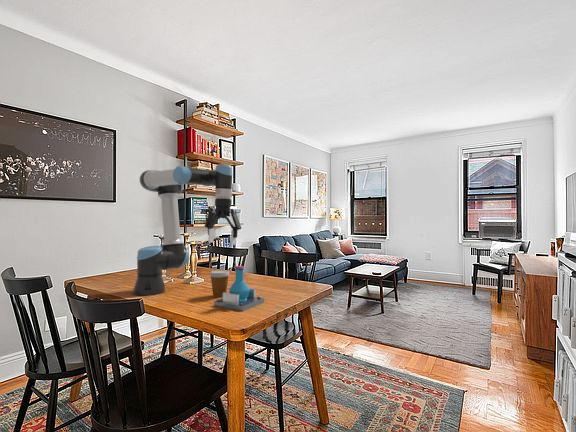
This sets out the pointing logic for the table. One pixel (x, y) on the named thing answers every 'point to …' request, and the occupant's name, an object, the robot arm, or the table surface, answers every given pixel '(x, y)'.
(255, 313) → the table surface
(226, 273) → the disposable coffee cup
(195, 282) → the table surface
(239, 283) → the perfume bottle
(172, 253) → the robot arm
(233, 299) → the base
